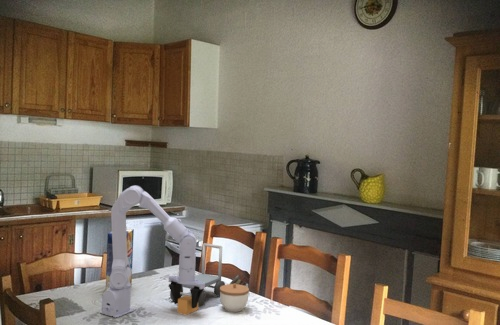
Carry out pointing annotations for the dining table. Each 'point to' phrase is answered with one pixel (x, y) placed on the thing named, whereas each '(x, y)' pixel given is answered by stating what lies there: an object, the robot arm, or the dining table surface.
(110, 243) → the juice carton
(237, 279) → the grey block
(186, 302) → the block
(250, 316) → the dining table surface
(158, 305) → the dining table surface
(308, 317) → the dining table surface
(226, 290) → the lidded jar
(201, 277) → the trolley
